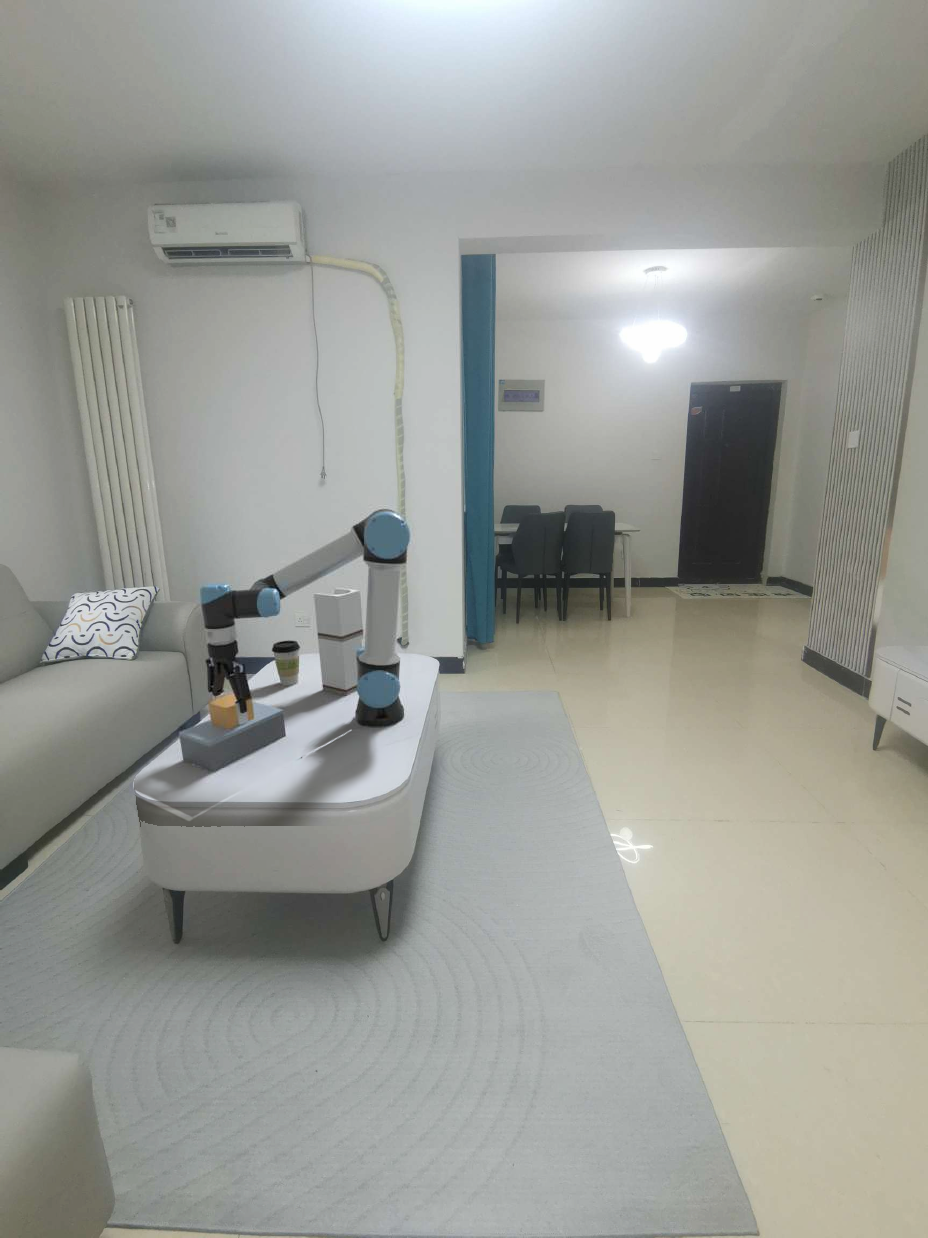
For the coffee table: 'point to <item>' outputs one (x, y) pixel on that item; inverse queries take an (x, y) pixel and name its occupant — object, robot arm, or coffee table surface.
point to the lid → (228, 720)
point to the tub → (233, 745)
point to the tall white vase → (339, 638)
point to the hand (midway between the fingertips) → (232, 719)
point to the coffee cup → (287, 661)
